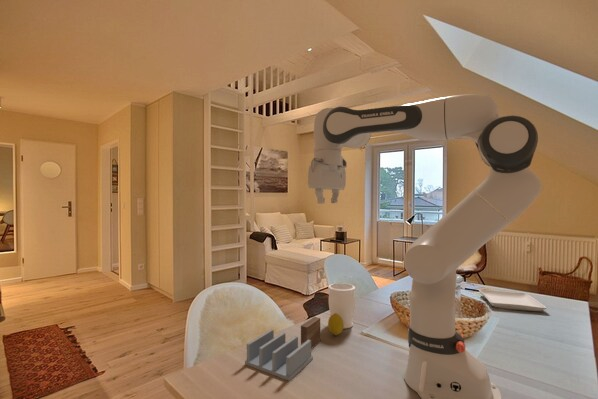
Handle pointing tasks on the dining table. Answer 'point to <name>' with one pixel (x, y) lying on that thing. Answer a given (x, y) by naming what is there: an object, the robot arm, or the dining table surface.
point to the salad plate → (512, 300)
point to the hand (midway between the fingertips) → (327, 203)
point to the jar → (342, 302)
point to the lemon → (335, 324)
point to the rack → (278, 355)
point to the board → (311, 331)
